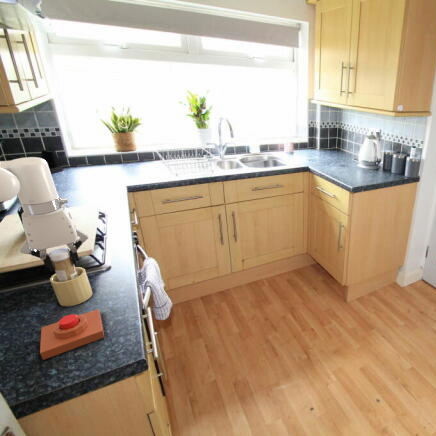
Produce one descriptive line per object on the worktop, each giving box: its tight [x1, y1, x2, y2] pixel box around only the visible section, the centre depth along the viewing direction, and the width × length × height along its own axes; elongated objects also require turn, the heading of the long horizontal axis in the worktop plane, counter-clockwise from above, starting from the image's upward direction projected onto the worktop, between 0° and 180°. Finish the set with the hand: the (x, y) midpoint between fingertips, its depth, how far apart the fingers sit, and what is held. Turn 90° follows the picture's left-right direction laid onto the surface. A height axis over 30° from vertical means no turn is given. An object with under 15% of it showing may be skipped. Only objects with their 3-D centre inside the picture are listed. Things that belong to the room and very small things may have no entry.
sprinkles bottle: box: [48, 247, 78, 282], centre depth 90 cm, size 5×5×13 cm
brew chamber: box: [49, 266, 93, 307], centre depth 92 cm, size 8×8×8 cm
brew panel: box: [39, 308, 105, 361], centre depth 80 cm, size 12×10×4 cm
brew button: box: [58, 313, 79, 330], centre depth 79 cm, size 4×4×2 cm
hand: (64, 265), depth 89 cm, fingers closed on sprinkles bottle, 4 cm apart
